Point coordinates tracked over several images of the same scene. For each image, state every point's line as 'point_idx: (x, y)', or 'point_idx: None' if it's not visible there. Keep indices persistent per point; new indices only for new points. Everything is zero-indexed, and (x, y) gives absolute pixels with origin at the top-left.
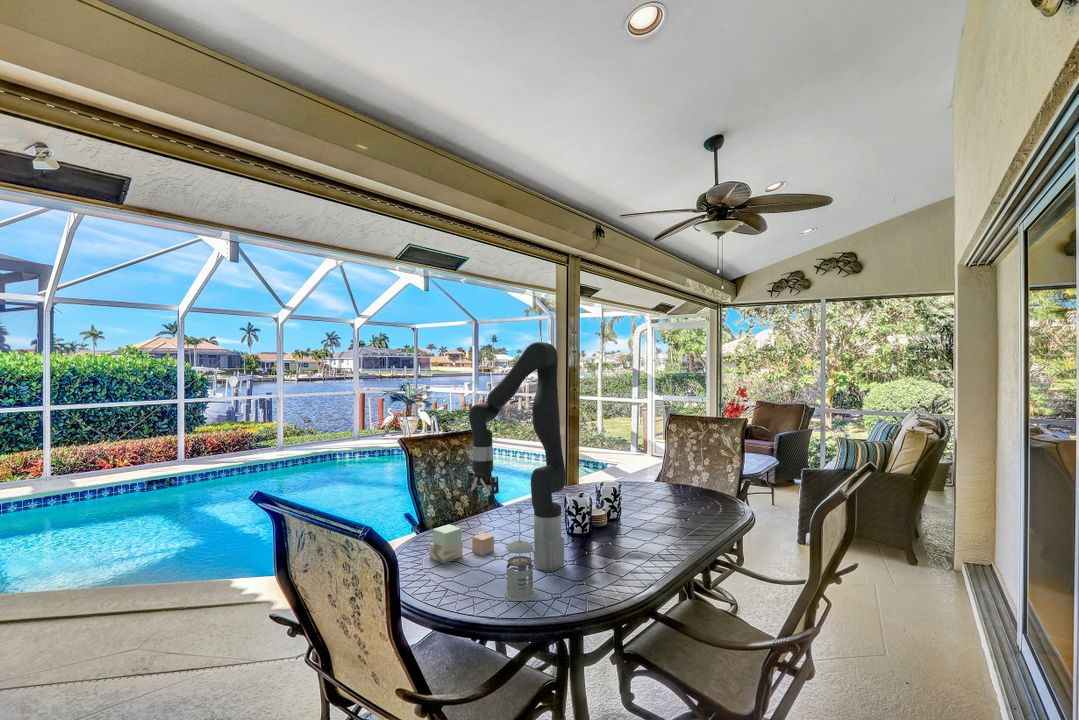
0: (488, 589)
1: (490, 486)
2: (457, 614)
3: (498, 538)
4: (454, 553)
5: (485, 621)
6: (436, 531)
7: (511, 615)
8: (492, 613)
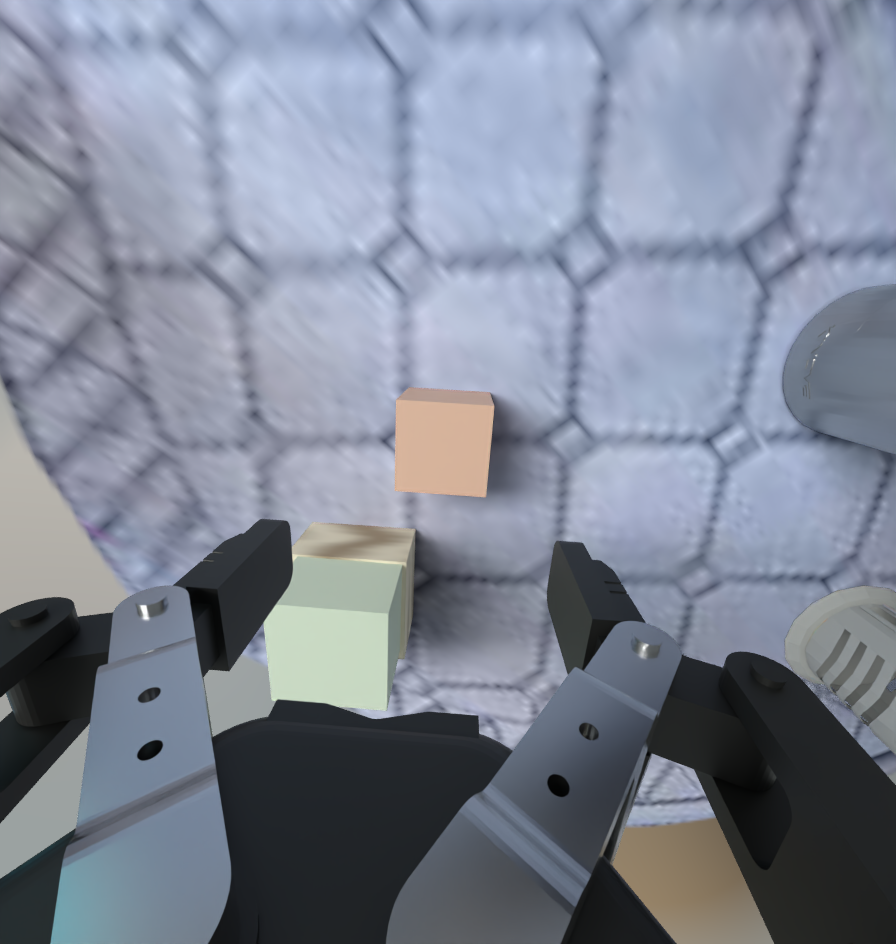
0: None
1: (630, 796)
2: None
3: (369, 217)
4: (411, 583)
5: None
6: (307, 698)
7: None
8: None
